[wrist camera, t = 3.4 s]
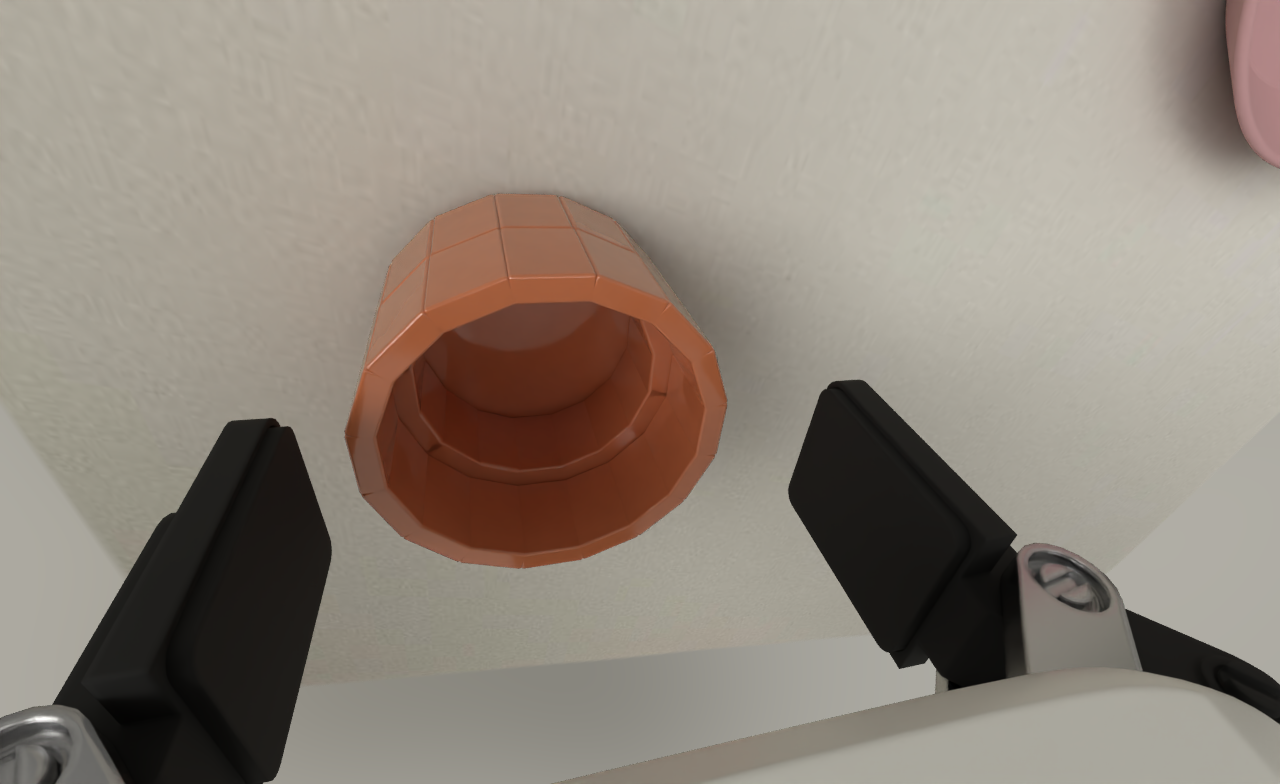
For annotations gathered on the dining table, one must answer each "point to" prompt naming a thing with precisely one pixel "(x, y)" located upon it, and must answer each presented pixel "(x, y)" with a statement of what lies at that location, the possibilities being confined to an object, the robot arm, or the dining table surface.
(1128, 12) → the dining table surface
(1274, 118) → the plate
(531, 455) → the bowl
